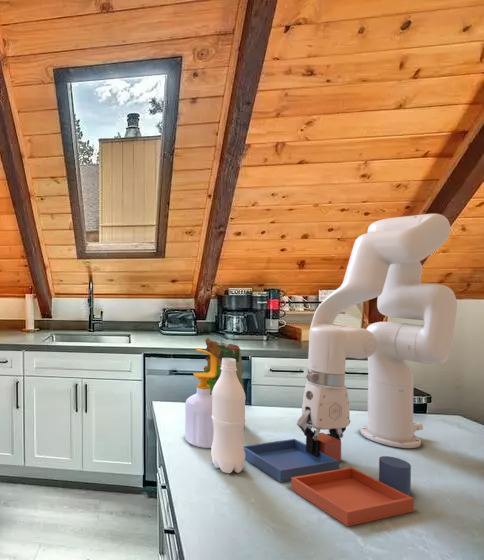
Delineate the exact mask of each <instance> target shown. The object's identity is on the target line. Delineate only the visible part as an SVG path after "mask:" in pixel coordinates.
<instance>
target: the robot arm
mask: <svg viewBox="0 0 484 560" xmlns="http://www.w3.org/2000/svg"><path fill="white" fill-rule="evenodd" d="M450 234H451V224H450V221H449V220H448V218H447V217H446V216H444V215H443V214H440V213H424V214H415V215H405V216H396V217H388V218H383V219H378V220H376V221H374V222H372V223H370V225H368V228H367V233H363V234H360V235H359V236H358V237H357V238H356V239H355V241H354V243H353V246H352V249H351V253H350V256H349V259H348V263H347V267H346V270H345V274H344V277H343V279H342V280H343V281H342V283H341V285H340V286H339V287H338V288H336V289H334V291H333V292H331V293H330V294H329V295H327V296H326V297H325V299H323V300H322V302H320V303H319V305H318V306H317V307H316V309H315V311H314V313H313V316H312V319H311V323H310V328H309V331H308V353H307V354H308V355H307V374H306V383H305V387H304V390H303V395H302V396H303V397H302V403H301V404H302V405H301V416H300V418H299V419H298V420H297V422H296V425H297V426H298V427H299V428H300V430H301V431H302V433H303V435H304V436H305V444H306V452H307V453H309V454H311V455H313V456H315V457H319V448H320V441H319V440H317V439H318V436H319V433H321V430H325V431H326V430H328V432H327V433H326V434H327V435H329V436H332V437H334V438H336V439H338V440H341V441H342V438H344V432H345V431H346V429H347V427H348V426H349V424H350V423H351V419H350V399H349V392H348V387H347V385H345V383H346V360H347V359H346V358H348V359H349V358H350V359H357V360H364V359H367V369H368V370H367V371H368V373H367V374H368V375H367V425H364V426H361V427H360V434H361V435H362V436H363V437H364V438H366V439H368V440H371V441H373V442H375V443H379V444H382V445H385V446H389V447H393V448H401V449H417V448H419V447H420V446H421V445H422V441H421V438H419V437H418V436H416V435H415V432H416V431H422V430H424V426H423V424H422V423H421V422H414V387H415V379H414V378H415V377H414V374H413V372H412V370H411V368H410V367H409V365H408V364H407V362H408V361H409V362H415V363H420V364H427V365H441V364H444V363H446V362H447V360H448V359H449V357H450V354H451V352H452V346H453V339H454V332H455V325H456V317H457V311H458V310H457V309H458V303H457V296H456V295H455V292H454V291H453V290H452V288H450V287H449V286H447V285H445V284H439V283H422V276H423V265H422V263H421V261H423V260H425V259H426V258H428V257H429V256H430V255H431V254H433V253H434V252H435V251H437V250H439V248H441V247H442V246H443V245H444V244H446V242H447V241H448V239H449V237H450V236H451V235H450ZM376 298H377V299H376ZM374 299H376V308H377V311H378V312H379V314H381V315H383V316H385V317H389V318H394V319H395V318H396V319H404V320H416V321H423V323H424V324H423V325H422V324H413V323H405V322H396V321H377V322H376V321H375V322H372V323H370V324H369V325H368V326H367V327H366V329H365V328H362V327H357V326H348V325H339V324H334V322H335V320H336V318H337V317H338V316H339V314H341V313H342V312H343V311H345V310H347V309H348V308H351V307H353V306H355V305H358V304H362V303H365V302H367V301H370V300H374ZM406 361H407V362H406ZM312 428H313V430H312Z"/></svg>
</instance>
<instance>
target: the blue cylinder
mask: <svg viewBox="0 0 484 560" xmlns="http://www.w3.org/2000/svg"><path fill="white" fill-rule="evenodd" d="M411 480H412V465H411V464H410V462H408V461H406V460H404V459H401V458H400V457H399V458H398V457H394V456H389V455H382V456H379V458H378V481H380V482H382V483H384V484H386V485H388V486H390V487H392V488H394V489H396V490H398V491H400V492H402V493H404V494H406V495H408V496H410V497H411V493H412V492H411V486H412V485H411V484H412V483H411V482H412V481H411Z"/></svg>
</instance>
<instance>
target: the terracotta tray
mask: <svg viewBox="0 0 484 560" xmlns="http://www.w3.org/2000/svg"><path fill="white" fill-rule="evenodd" d="M290 481H291V483H290V490H292V491H293V492H295V493H296V494H298V495H299V496H301V497H302V498H303V499H305V500H306V501H309V502H310V503H311V504H313V505H314V506H316V507H317V508H319V509H320V510H322V511H323V512H324V513H327V514H328V515H330V516H331V517H333V518H334V519H335V520H337V521H338V522H340V523H342V524H343V525H345V526H346V527H350V526H355V525H360V524H364V523H368V522H369V523H370V522H373V521H377V520H382V519H386V518H390V517H395V516H399V515H403V514H409V513H412V512H414V511H415V498H414V497H412V496H411V495H410V496H408V495H406V494H404V493H402V492H400V491H398V490H396V489H394V488H392V487H390V486H388V485H386V484H384V483H382V482H380V481H379V479H377V478H375V477H372V476H370V475H368V474H366V473H364V472H362V471H360V470H358V469H357V468H354V467H353V466H348V467H344V468H343V467H342V468H339V469H337V470H331V471H326V472H320V473H314V474H308V475H303V476H297V477H291V480H290Z"/></svg>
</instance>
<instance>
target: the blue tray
mask: <svg viewBox="0 0 484 560" xmlns="http://www.w3.org/2000/svg"><path fill="white" fill-rule="evenodd" d="M244 450H245V461H248V462H249V463H250V464H252V465H253V466H255V467H256V468H258V469H259V470H261V471H262V472H264V473H266V474H267V475H269V476H270V477H271V478H273V479H274V480H276V481H278V482H279V483H283V482H289V481H291V477H297V476H303V475H308V474H314V473H320V472H326V471H331V470H337V469H340V462H339V461H338V460H336V459H334V458H332V457H330V456H328V455H326V454H324V453H322V452H320V451H319V457H315V456H313V455H311V454H309V453H307V452H306V443H304V442H302V441H300V440H298V439H297V438H290V439H283V440H276V441H270V442H261V443H254V444H247V445H244Z"/></svg>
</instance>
